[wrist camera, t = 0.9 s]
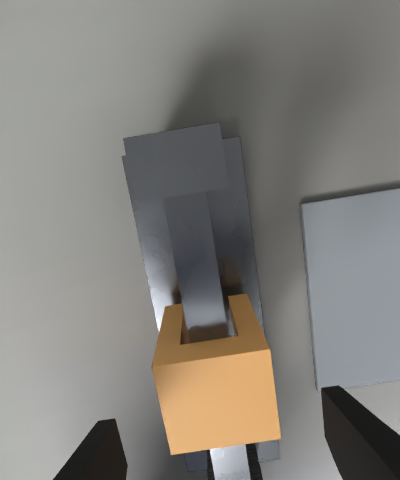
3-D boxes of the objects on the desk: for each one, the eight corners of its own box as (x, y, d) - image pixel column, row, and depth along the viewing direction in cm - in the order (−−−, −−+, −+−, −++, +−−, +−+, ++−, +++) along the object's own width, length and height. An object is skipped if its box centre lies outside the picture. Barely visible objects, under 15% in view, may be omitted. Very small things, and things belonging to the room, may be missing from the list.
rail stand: (276, 445, 21) (317, 584, 14) (188, 458, 21) (185, 602, 14) (237, 138, 16) (268, 114, 9) (126, 157, 16) (75, 146, 9)
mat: (471, 364, 19) (477, 368, 19) (316, 388, 20) (318, 392, 19) (479, 174, 17) (486, 174, 16) (299, 203, 17) (302, 204, 17)
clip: (255, 359, 17) (281, 439, 12) (178, 371, 17) (171, 454, 12) (246, 293, 16) (270, 348, 11) (165, 306, 16) (151, 367, 11)
